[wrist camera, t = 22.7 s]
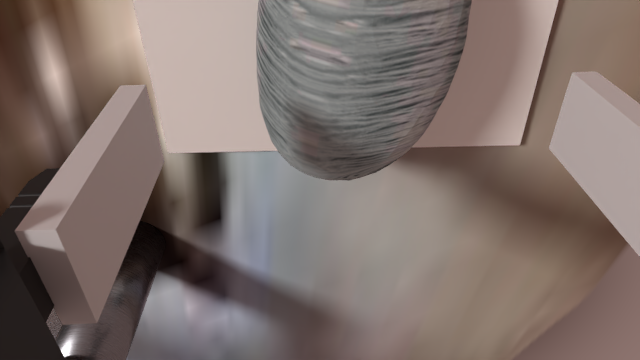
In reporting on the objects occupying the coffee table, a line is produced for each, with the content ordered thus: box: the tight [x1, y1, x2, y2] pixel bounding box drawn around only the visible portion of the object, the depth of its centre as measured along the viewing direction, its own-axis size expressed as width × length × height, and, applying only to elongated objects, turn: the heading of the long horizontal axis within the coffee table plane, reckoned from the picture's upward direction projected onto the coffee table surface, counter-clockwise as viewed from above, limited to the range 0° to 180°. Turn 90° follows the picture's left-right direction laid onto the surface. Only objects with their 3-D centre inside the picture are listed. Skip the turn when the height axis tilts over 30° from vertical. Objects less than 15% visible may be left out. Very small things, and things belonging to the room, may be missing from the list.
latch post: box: [55, 221, 165, 360], centre depth 30 cm, size 4×4×11 cm
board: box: [133, 0, 559, 153], centre depth 25 cm, size 22×17×1 cm
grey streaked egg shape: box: [256, 0, 472, 180], centre depth 22 cm, size 14×10×10 cm
